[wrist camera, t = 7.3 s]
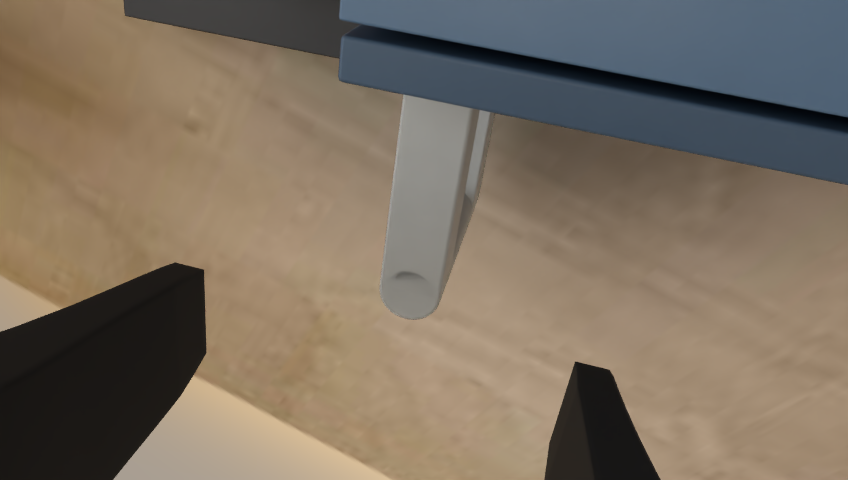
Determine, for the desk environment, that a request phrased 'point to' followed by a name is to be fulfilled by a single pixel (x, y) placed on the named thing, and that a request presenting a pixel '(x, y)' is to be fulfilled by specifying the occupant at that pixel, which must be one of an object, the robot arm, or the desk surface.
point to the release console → (254, 20)
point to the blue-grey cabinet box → (653, 40)
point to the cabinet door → (552, 104)
